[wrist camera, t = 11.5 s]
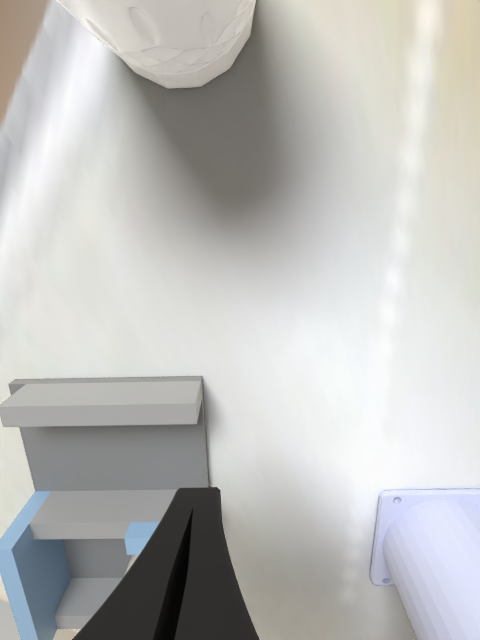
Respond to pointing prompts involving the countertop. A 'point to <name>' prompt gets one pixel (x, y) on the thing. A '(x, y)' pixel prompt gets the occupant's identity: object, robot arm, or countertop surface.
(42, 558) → the grey and blue rack
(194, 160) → the countertop surface
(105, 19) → the white cup
